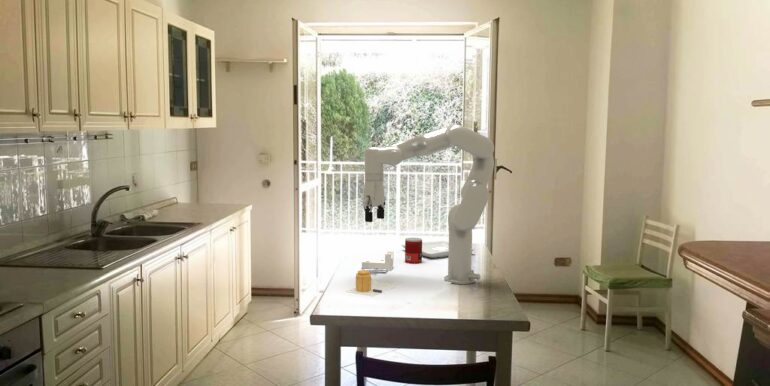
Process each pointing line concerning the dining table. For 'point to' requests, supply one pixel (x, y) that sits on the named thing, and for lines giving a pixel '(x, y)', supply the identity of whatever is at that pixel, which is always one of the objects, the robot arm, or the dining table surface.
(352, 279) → the dining table surface
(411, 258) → the canned food
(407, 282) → the dining table surface
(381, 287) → the junction plate
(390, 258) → the bracket
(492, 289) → the dining table surface
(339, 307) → the dining table surface
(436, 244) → the square plate
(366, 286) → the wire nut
